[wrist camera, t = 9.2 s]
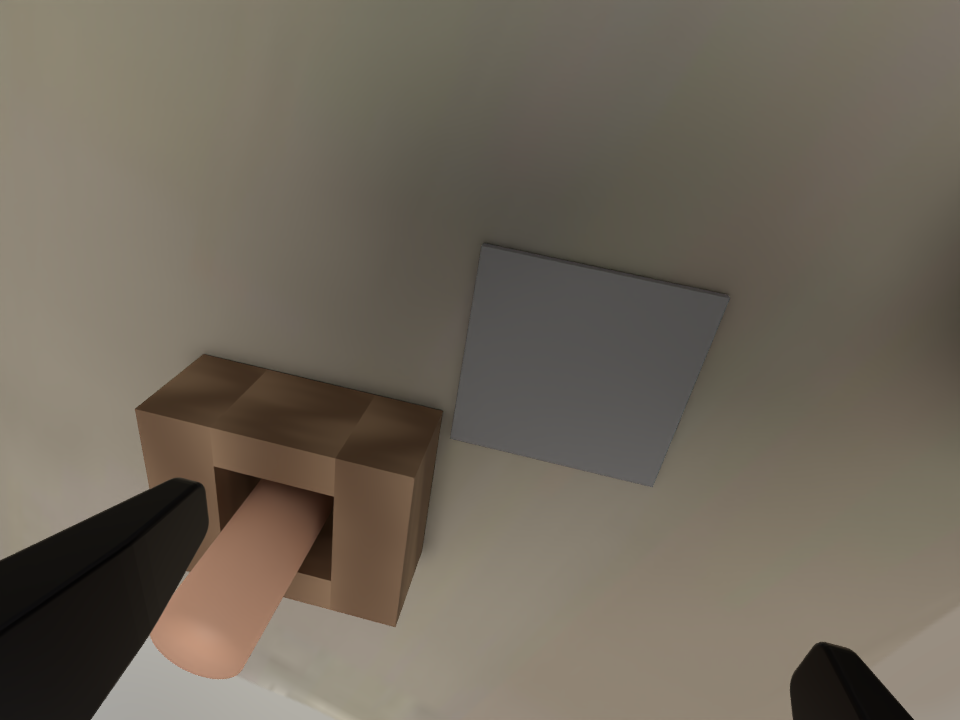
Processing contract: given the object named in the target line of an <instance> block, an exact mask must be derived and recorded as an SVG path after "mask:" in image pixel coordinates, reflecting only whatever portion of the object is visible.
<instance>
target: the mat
mask: <svg viewBox="0 0 960 720" xmlns="http://www.w3.org/2000/svg"><path fill="white" fill-rule="evenodd" d="M729 300H730V297H729V295H727V294H722V293H717V292H713V291H708V290H703V289H698V288H694V287H689V286H684V285H680V284H675V283H670V282H665V281H661V280H656V279H651V278H647V277H642V276H637V275H632V274H628V273H623V272H618V271H614V270H609V269H604V268H599V267H595V266H590V265H585V264H580V263H576V262H571V261H566V260H562V259H557V258H552V257H547V256H543V255H538V254H533V253H529V252H524V251H519V250H514V249H510V248H505V247H500V246H495V245H491V244H486V243H483V244H482V246H481V253H480V259H479V265H478V271H477V277H476V283H475V289H474V296H473V302H472V308H471V314H470V320H469V326H468V333H467V339H466V345H465V351H464V357H463V363H462V369H461V376H460V382H459V388H458V394H457V400H456V406H455V413H454V419H453V425H452V431H451V437H450V439H454V440H458V441H463V442H467V443H471V444H475V445H479V446H483V447H488V448H492V449H496V450H500V451H504V452H508V453H513V454H517V455H521V456H525V457H529V458H533V459H537V460H542V461H546V462H550V463H554V464H558V465H562V466H567V467H571V468H575V469H579V470H583V471H587V472H592V473H596V474H600V475H604V476H608V477H612V478H617V479H621V480H625V481H629V482H633V483H637V484H641V485H646V486H650V487H653V485H654V483H655V480H656V478H657V475H658V473H659V470H660V468H661V465H662V463H663V461H664V458H665V456H666V453H667V451H668V448H669V446H670V444H671V441H672V439H673V436H674V434H675V431H676V429H677V426H678V424H679V422H680V419H681V417H682V414H683V412H684V409H685V407H686V405H687V402H688V400H689V397H690V395H691V392H692V390H693V387H694V385H695V383H696V380H697V378H698V375H699V373H700V370H701V368H702V366H703V363H704V361H705V358H706V356H707V353H708V351H709V348H710V346H711V344H712V341H713V339H714V336H715V334H716V331H717V329H718V327H719V324H720V322H721V319H722V317H723V314H724V312H725V309H726V307H727V305H728V302H729Z"/></svg>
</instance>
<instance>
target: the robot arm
mask: <svg viewBox="0 0 960 720" xmlns="http://www.w3.org/2000/svg"><path fill="white" fill-rule="evenodd" d="M208 527H209V516H208V507H207V499H206V490H205V487H204V486H203V484H202V483H200V482H197V481H193V480H189V479H185V478H180V477H177V478H172V479H170V480H168V481H165V482H163V483H161V484H159V485H157V486H155V487H153V488H151V489H149V490H147V491H145V492H142V493H140V494H138V495H136V496H134V497H132V498H130V499H128V500H126V501H124V502H122V503H119V504H117V505H115V506H113V507H111V508H109V509H107V510H105V511H103V512H101V513H99V514H96V515H94V516H92V517H90V518H88V519H86V520H84V521H82V522H80V523H78V524H76V525H73V526H71V527H69V528H67V529H65V530H63V531H61V532H59V533H57V534H55V535H53V536H50V537H48V538H46V539H44V540H42V541H40V542H38V543H36V544H34V545H32V546H30V547H27V548H25V549H23V550H21V551H19V552H17V553H15V554H13V555H11V556H9V557H6V558H4V559H2V560H0V720H91V719H92V717H93V716H94V714H95V713H96V712H97V710H98V709H99V707H100V706H101V704H102V703H103V701H104V700H105V699H106V697H107V696H108V694H109V693H110V691H111V690H112V689H113V687H114V686H115V684H116V683H117V681H118V680H119V678H120V677H121V676H122V674H123V673H124V671H125V670H126V668H127V667H128V666H129V664H130V663H131V661H132V660H133V658H134V657H135V656H136V654H137V652H138V651H139V650H140V648H141V647H142V645H143V644H144V642H145V641H146V639H147V638H148V636H149V635H150V633H151V632H152V630H153V628H154V627H155V625H156V623H157V622H158V620H159V618H160V617H161V615H162V613H163V611H164V610H165V608H166V606H167V604H168V602H169V601H170V599H171V597H172V595H173V593H174V592H175V590H176V588H177V586H178V585H179V583H180V581H181V579H182V577H183V576H184V574H185V572H186V570H187V568H188V567H189V565H190V563H191V561H192V559H193V558H194V556H195V554H196V552H197V551H198V549H199V547H200V545H201V543H202V542H203V540H204V538H205V536H206V533H207V531H208ZM790 697H791V706H792V716H793V720H914V719H913V718H912V717H911V716H910V715H909V713H908V712H907V711H906V710H905V709H904V708H903V707H902V705H901V704H900V703H899V702H898V701H897V700H896V698H894V696H893V695H892V694H891V693H890V692H889V690H888V689H887V688H886V687H885V686H884V685H883V684H882V683H881V681H880V680H879V679H878V678H877V677H876V676H875V674H874V673H873V672H872V671H871V670H870V669H869V668H868V666H867V665H866V664H865V663H864V662H863V661H862V660H861V658H860V657H859V656H858V655H857V654H856V653H855V652H853V651H852V650H850V649H848V648H846V647H842V646H838V645H834V644H831V643H827V642H819V643H817V644H815V645H814V646H813V647H812V649H811V650H810V651H809V653H808V654H807V655H806V657H805V658H804V660H803V661H802V662H801V664H800V665H799V666H798V668H797V669H796V670H795V672H794V673H793V676H792V678H791V683H790Z"/></svg>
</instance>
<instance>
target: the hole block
mask: <svg viewBox="0 0 960 720" xmlns="http://www.w3.org/2000/svg"><path fill="white" fill-rule="evenodd" d="M135 412H136V417H137V423H138V428H139V434H140V439H141V445H142V450H143V456H144V461H145V467H146V472H147V477H148V483H149V488H150V489H151V488H153V487H155V486H157V485H159V484H161V483H163V482H165V481H168V480H170V479H172V478H177V477H180V478H185V479H189V480H193V481H197V482H200V483H202V484H203V486H204V487H205V490H206V499H207V507H208V516H209V527H208V531H207V533H206V536H205V538H204V540H203V542H202V543H201V545H200V547H199V549H198V551H197V552H196V554H195V556H194V558H193V559H192V561H191V563H190V565H189V567H188V568H187V570H186V571H189V572H191V570H192V569H193V568H194V566H195V565H196V564H197V562H198V561H199V560H200V559H201V557H202V556H203V555H204V553H205V552H206V551H207V549H208V548H209V547H210V545H211V544H212V543H213V542H214V540H215V539H216V538H217V536H218V535H219V534H220V532H221V531H222V530H223V528H224V527H225V526H226V525H227V523H228V522H229V521H230V519H231V518H232V517H233V515H234V514H235V513H236V511H237V510H238V509H239V508H240V506H241V505H242V504H243V502H244V501H245V500H246V498H247V497H248V496H249V494H250V493H251V492H252V491H253V489H254V488H255V487H256V485H257V484H258V483H259V481H260V480H261V479H266V480H270V481H274V482H278V483H282V484H286V485H290V486H294V487H298V488H302V489H306V490H310V491H314V492H318V493H322V494H325V495H329V496H333V497H334V508H333V510H332V511H331V513H330V515H329V517H328V518H327V520H326V522H325V524H324V525H323V527H322V529H321V531H320V533H319V534H318V536H317V538H316V540H315V541H314V543H313V545H312V547H311V548H310V550H309V552H308V554H307V556H306V557H305V559H304V561H303V563H302V564H301V566H300V568H299V570H298V572H297V573H296V575H295V577H294V579H293V580H292V582H291V584H290V586H289V587H288V589H287V591H286V593H285V595H284V596H283V597H285V598H289V599H293V600H296V601H300V602H304V603H308V604H311V605H315V606H319V607H322V608H326V609H330V610H334V611H337V612H341V613H345V614H348V615H352V616H356V617H360V618H363V619H367V620H371V621H375V622H378V623H382V624H386V625H389V626H393V627H396V624H397V621H398V618H399V615H400V612H401V610H402V607H403V604H404V601H405V598H406V595H407V592H408V589H409V587H410V584H411V581H412V578H413V575H414V572H415V569H416V567H417V564H418V561H419V558H420V555H421V552H422V547H423V540H424V534H425V527H426V520H427V514H428V507H429V500H430V493H431V487H432V480H433V473H434V467H435V460H436V453H437V447H438V440H439V433H440V427H441V420H442V413H443V411H441V410H437V409H432V408H428V407H424V406H420V405H416V404H411V403H407V402H403V401H399V400H394V399H390V398H386V397H382V396H378V395H373V394H369V393H365V392H361V391H356V390H352V389H348V388H344V387H339V386H335V385H331V384H327V383H323V382H318V381H314V380H310V379H306V378H301V377H297V376H293V375H289V374H285V373H280V372H276V371H272V370H268V369H263V368H259V367H255V366H251V365H247V364H242V363H238V362H234V361H230V360H225V359H221V358H217V357H213V356H209V355H204V354H203V355H202V356H201V357H199V358H198V359H197V360H196V361H194V362H193V363H192V364H191V365H189V366H188V367H187V368H186V369H184V370H183V371H182V372H181V373H179V374H178V375H177V376H176V377H174V378H173V379H172V380H171V381H169V382H168V383H167V384H166V385H164V386H163V387H162V388H161V389H159V390H158V391H157V392H156V393H154V394H153V395H152V396H151V397H149V398H148V399H147V400H146V401H144V402H143V403H142V404H141V405H139V406H138V407H137V408H136V409H135Z"/></svg>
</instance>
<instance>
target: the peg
mask: <svg viewBox="0 0 960 720" xmlns="http://www.w3.org/2000/svg"><path fill="white" fill-rule="evenodd" d="M333 508H334V497H333V496H329V495H325V494H322V493H318V492H314V491H310V490H306V489H302V488H298V487H294V486H290V485H286V484H282V483H278V482H274V481H270V480H266V479H261V480H260V481H259V483H258V484H257V485H256V487H255V488H254V489H253V491H252V492H251V493H250V494H249V496H248V497H247V498H246V500H245V501H244V502H243V504H242V505H241V506H240V508H239V509H238V510H237V511H236V513H235V514H234V515H233V517H232V518H231V519H230V521H229V522H228V523H227V525H226V526H225V527H224V528H223V530H222V531H221V532H220V534H219V535H218V536H217V538H216V539H215V540H214V542H213V543H212V544H211V545H210V547H209V548H208V549H207V551H206V552H205V553H204V555H203V556H202V557H201V559H200V560H199V561H198V562H197V564H196V565H195V566H194V568H193V569H192V570H191V572H190V573H189V574H188V576H187V577H186V578H185V580H184V581H183V582H182V583H181V585H180V586H179V587H178V589H177V590H176V591H175V593H174V594H173V595H172V597H171V599H170V601H169V602H168V604H167V606H166V608H165V610H164V611H163V613H162V615H161V617H160V618H159V620H158V622H157V623H156V625H155V627H154V628H153V630H152V632H151V633H150V636H151V639H152V641H153V643H154V645H155V646H156V648H157V649H158V650H159V651H160V652H161V653H162V654H163V655H164V656H165V657H166V658H167V659H168V660H170V661H171V662H172V663H174V664H175V665H177V666H178V667H180V668H182V669H184V670H186V671H188V672H191V673H193V674H195V675H198V676H202V677H206V678H212V679H227V678H231V677H234V676H236V675H238V674H239V673H240V672H241V671H242V669H243V667H244V665H245V664H246V662H247V660H248V658H249V657H250V655H251V653H252V651H253V649H254V648H255V646H256V644H257V642H258V641H259V639H260V637H261V635H262V634H263V632H264V630H265V628H266V626H267V625H268V623H269V621H270V619H271V618H272V616H273V614H274V612H275V611H276V609H277V607H278V605H279V603H280V602H281V600H282V598H283V596H284V595H285V593H286V591H287V589H288V587H289V586H290V584H291V582H292V580H293V579H294V577H295V575H296V573H297V572H298V570H299V568H300V566H301V564H302V563H303V561H304V559H305V557H306V556H307V554H308V552H309V550H310V548H311V547H312V545H313V543H314V541H315V540H316V538H317V536H318V534H319V533H320V531H321V529H322V527H323V525H324V524H325V522H326V520H327V518H328V517H329V515H330V513H331V511H332V510H333Z"/></svg>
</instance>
